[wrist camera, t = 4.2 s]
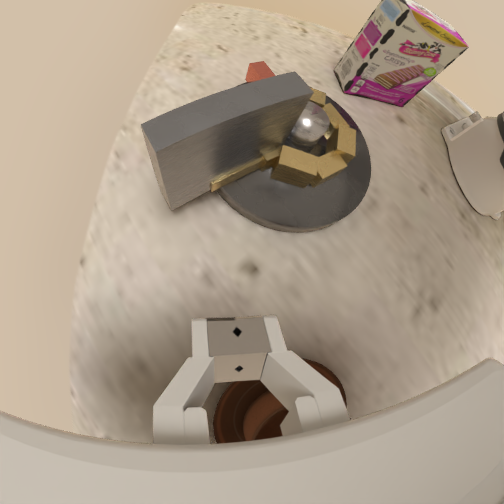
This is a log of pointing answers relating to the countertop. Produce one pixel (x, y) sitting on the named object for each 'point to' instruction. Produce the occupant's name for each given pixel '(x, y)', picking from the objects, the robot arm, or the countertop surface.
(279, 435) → the cup and saucer
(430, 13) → the candy bar box
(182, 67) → the countertop surface
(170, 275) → the countertop surface
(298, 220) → the cap plate
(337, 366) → the countertop surface
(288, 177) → the gray slab gold ring
